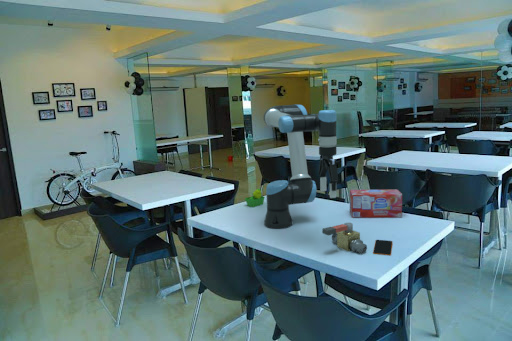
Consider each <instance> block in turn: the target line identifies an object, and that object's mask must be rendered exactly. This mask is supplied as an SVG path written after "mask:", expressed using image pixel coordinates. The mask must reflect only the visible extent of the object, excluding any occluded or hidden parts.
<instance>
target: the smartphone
mask: <svg viewBox="0 0 512 341" xmlns="http://www.w3.org/2000/svg"><path fill="white" fill-rule="evenodd" d="M392 250H393V241H392V240H386V239H376V240H375V241H374V247H373V250H372V254H373V255H377V256H378V255H380V256H390V257H391V256H392Z"/></svg>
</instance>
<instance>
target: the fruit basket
mask: <svg viewBox="0 0 512 341" xmlns="http://www.w3.org/2000/svg"><path fill="white" fill-rule="evenodd" d="M265 197H266V196H264V195H262V191H261V189H260V188H256V189H255V190H254V191H253V193H252V196H249V197H245V198H244V199H245V200H244V201H245V203H246V205H247V207H251V208H255V207H258V206H263V205H264V201H265V199H266V198H265Z"/></svg>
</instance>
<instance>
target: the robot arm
mask: <svg viewBox="0 0 512 341" xmlns="http://www.w3.org/2000/svg"><path fill="white" fill-rule="evenodd" d="M263 121H264V123H265V125H267V126H268V127H270V128H278V130H279V132H280V133H282V134H287V145H288V152H289V160H290V169H291V177H290V178H289V181H288V180H286V179H285V180H284V179H282V180H274V181H271V182H270V183H268V184H266V191H265V194H266V195H265V196H266V214H265V217H264V222H263V223H264V224H263V225H264V227H266V228H268V229H276V230H277V229H279V230H280V229H287V228H289V227H291V226H293V218H292V215H291V212H290V209H289V208H290V207H289V206H290V205H299V204H300V205H301V204H307V203H313V202H314V200H315V199H316V196H317V185H316V181H315V180H312V177H311V175H309V173H308V172H309V171H308V165H307V163H308V162H307V157H306V155H307V154H306V146H305V139H304V132H314V131H315V132H318V139H317V141H318V145H319V146H318V155H319V165H318V173H317V175H319V178H320V179H319V181H320V182H319V185H320V186H319V187H320V188H319V190H320V192H326V191H327V172H328V177H329V182H328V185H329V198H330V199H335V198H337V183H339V175H338V167H337V159H334V156H336V155H337V141H338V140H337V138H338V137H337V121H338V118H337V111H336V110H335V109H325V110H319V111H318V113H313V114H308V111H307V109H306V108H305V106H304V105H302V104H287V105H286V104H283V105H274V106H271V107H269V108H268V109H267V110H265V111H264V114H263Z"/></svg>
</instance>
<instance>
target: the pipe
mask: <svg viewBox="0 0 512 341" xmlns="http://www.w3.org/2000/svg"><path fill="white" fill-rule="evenodd" d="M331 241H332V242H334V245H336V246H337V247H338V248H339V249H342V250H344V251H345V252H352V253H354V254H355V253H358V254H361V255H363V254H365V253H366V252H367V249H368V247H367V244H366V243H364V242H363V240H362V239H361V233H360V232H358V231H356V230H353V232H352V233H345V232H344V231H341V232H337V233H335V234H331Z"/></svg>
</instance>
